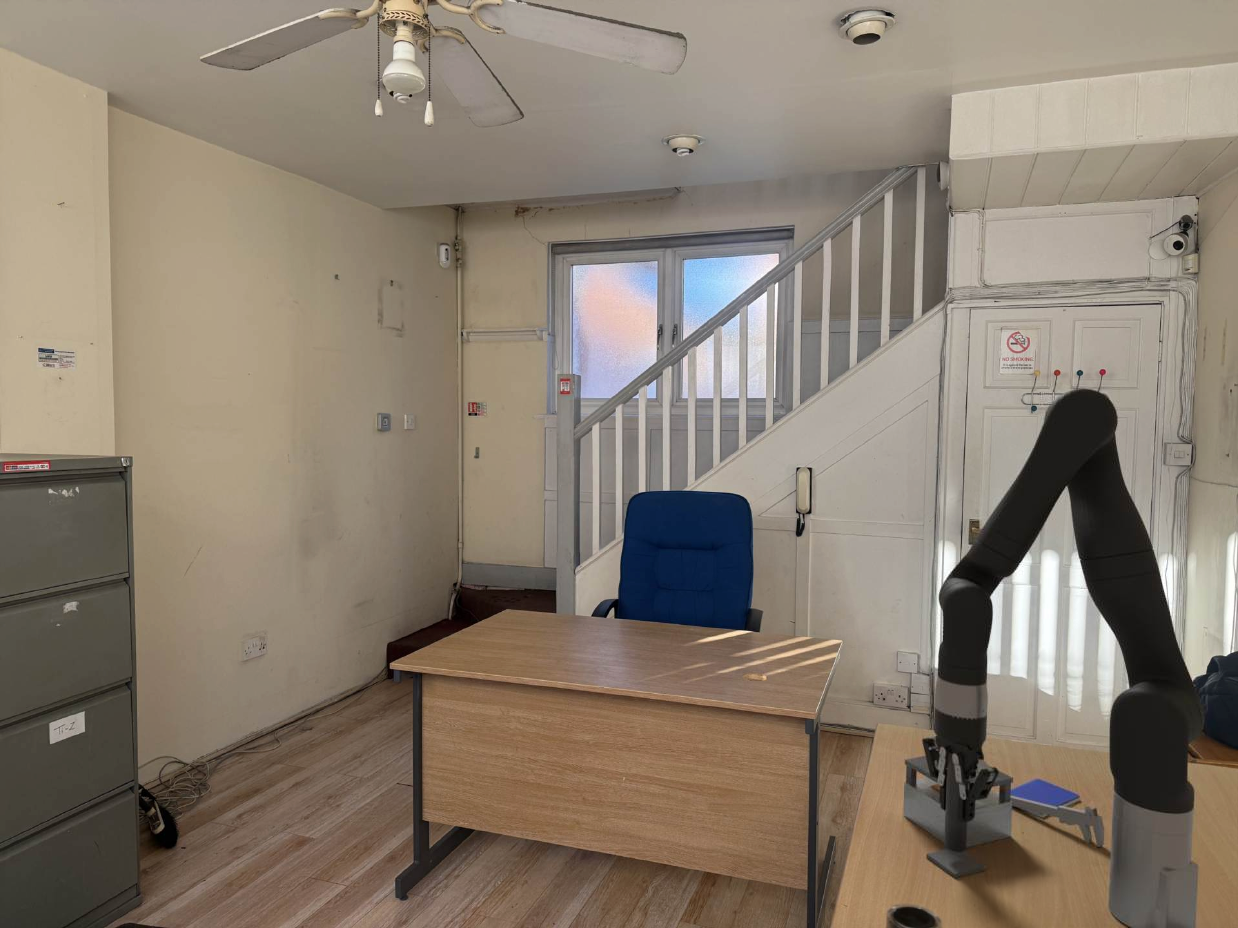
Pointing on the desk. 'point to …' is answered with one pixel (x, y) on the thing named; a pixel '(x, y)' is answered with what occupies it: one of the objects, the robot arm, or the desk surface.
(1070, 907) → the desk surface
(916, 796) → the grey boxy frame
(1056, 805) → the hard drive
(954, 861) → the pad
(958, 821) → the handle
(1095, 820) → the caliper
